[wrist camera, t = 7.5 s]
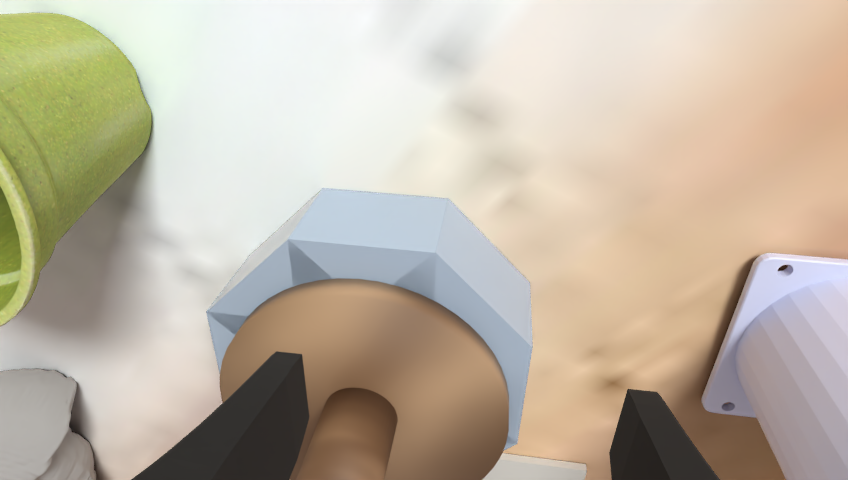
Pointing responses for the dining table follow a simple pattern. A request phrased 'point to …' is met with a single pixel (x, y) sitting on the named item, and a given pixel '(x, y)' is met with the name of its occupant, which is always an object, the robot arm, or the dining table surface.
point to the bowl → (392, 271)
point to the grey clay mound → (40, 428)
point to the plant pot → (58, 137)
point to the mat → (535, 469)
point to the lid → (380, 382)
